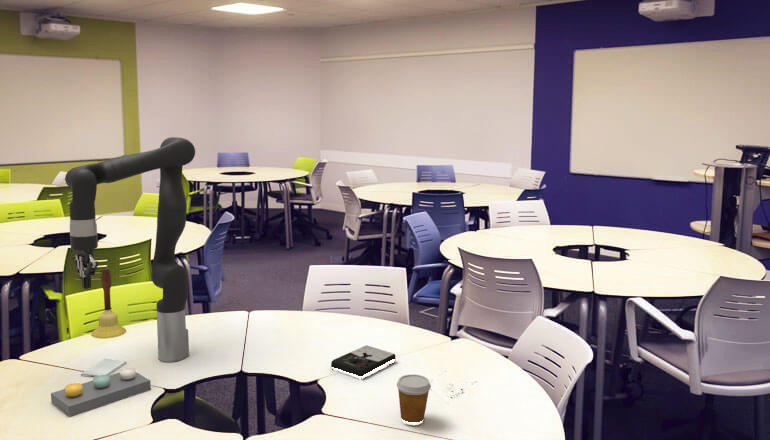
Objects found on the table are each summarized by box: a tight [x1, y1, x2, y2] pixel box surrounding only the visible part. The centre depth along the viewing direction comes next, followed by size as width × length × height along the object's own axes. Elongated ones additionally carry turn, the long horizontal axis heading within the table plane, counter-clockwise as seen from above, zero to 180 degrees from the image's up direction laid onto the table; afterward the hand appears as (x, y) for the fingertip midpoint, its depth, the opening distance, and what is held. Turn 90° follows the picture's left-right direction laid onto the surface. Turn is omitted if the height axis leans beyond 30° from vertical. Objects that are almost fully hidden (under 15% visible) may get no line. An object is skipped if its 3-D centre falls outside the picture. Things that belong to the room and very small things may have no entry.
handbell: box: [90, 267, 127, 339], centre depth 235 cm, size 12×12×25 cm
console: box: [50, 371, 152, 417], centre depth 185 cm, size 24×12×3 cm, turn 139°
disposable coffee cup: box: [396, 374, 432, 422], centre depth 175 cm, size 10×10×12 cm
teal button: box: [92, 375, 110, 388], centre depth 185 cm, size 4×4×2 cm
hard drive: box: [80, 358, 128, 379], centre depth 204 cm, size 2×8×12 cm
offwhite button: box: [119, 366, 137, 379], centre depth 191 cm, size 4×4×2 cm
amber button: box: [64, 382, 83, 396], centre depth 179 cm, size 4×4×2 cm
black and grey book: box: [330, 344, 396, 376], centre depth 213 cm, size 13×19×5 cm
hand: (86, 288), depth 194 cm, fingers closed
